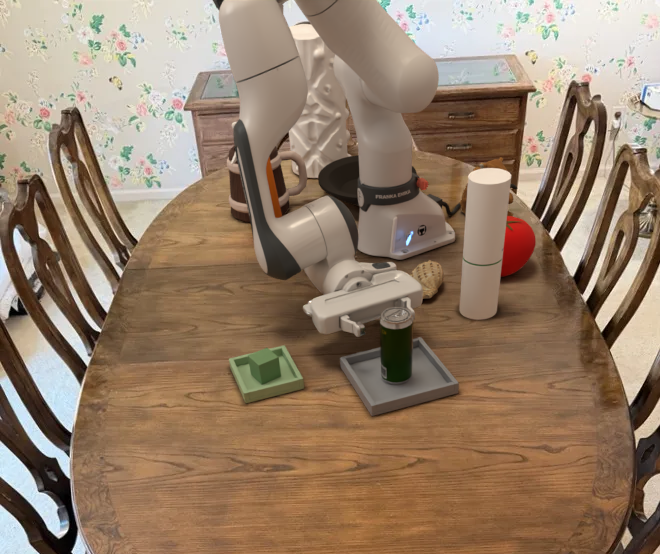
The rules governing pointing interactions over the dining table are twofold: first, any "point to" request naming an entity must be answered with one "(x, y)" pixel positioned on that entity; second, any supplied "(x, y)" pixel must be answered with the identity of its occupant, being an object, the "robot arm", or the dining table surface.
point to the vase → (319, 106)
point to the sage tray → (278, 386)
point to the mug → (276, 158)
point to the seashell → (428, 277)
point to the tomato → (517, 245)
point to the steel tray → (421, 387)
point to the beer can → (396, 345)
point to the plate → (342, 179)
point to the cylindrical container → (484, 241)
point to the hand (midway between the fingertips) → (386, 324)
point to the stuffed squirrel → (490, 164)
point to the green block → (264, 365)
